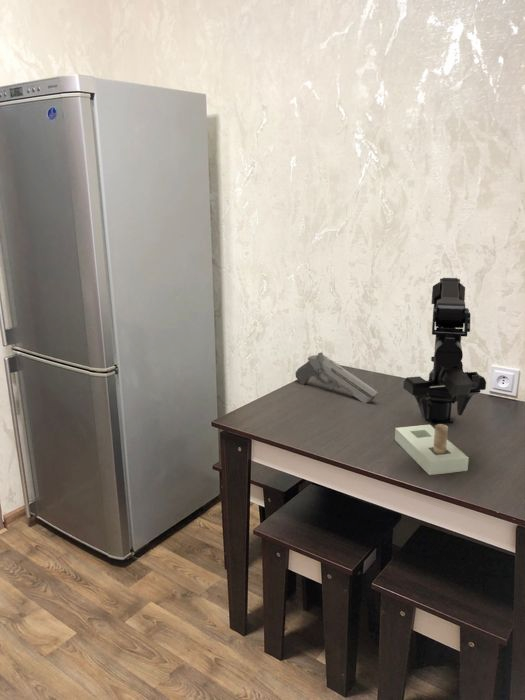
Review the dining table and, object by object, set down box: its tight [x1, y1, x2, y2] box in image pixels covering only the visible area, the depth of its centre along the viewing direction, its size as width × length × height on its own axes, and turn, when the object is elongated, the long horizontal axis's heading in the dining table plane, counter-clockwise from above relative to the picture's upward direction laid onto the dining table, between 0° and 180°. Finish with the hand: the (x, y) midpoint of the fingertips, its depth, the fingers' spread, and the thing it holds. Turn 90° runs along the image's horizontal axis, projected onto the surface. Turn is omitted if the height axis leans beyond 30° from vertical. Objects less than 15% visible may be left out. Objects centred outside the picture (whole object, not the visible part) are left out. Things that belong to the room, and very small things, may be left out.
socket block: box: [394, 424, 470, 476], centre depth 145 cm, size 20×10×4 cm, turn 11°
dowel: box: [433, 423, 449, 455], centre depth 139 cm, size 3×3×10 cm
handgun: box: [295, 352, 379, 404], centre depth 189 cm, size 31×3×15 cm, turn 47°
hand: (442, 416), depth 137 cm, fingers open, 9 cm apart
